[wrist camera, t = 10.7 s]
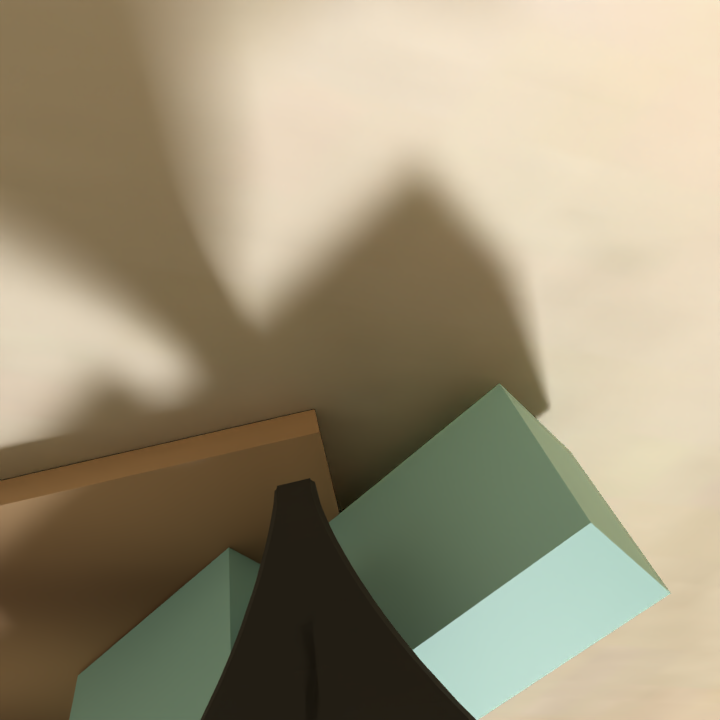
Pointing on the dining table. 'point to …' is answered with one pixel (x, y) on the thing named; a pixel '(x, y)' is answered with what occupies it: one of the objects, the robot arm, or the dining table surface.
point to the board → (130, 544)
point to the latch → (423, 575)
